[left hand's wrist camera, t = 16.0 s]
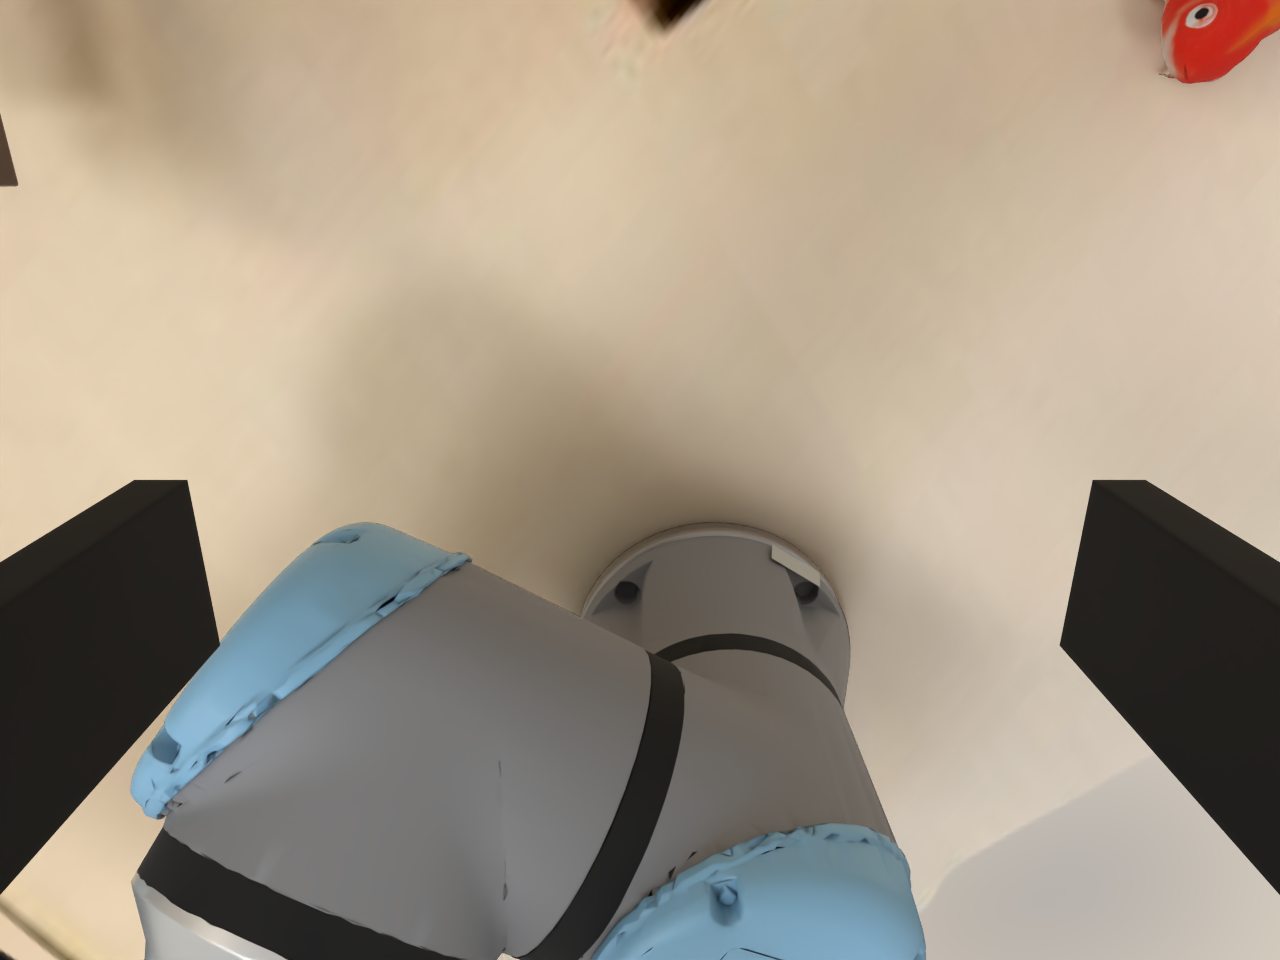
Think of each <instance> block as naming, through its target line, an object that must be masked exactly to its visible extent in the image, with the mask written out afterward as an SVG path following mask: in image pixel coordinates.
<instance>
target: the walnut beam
mask: <svg viewBox="0 0 1280 960" xmlns="http://www.w3.org/2000/svg"><path fill="white" fill-rule="evenodd" d="M17 185H18V181H17V177H16V173H15V169H14V166H13V162H12V158H11V154H10V150H9V146H8V142H7V138H6V134H5V130H4V127H3V123H2V119H1V115H0V187H4V186H17Z"/></svg>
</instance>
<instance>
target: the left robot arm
mask: <svg viewBox="0 0 1280 960" xmlns="http://www.w3.org/2000/svg"><path fill="white" fill-rule="evenodd" d="M471 562H472V558H470V557H469V556H468V555H466V554H464V553H460V552H458V553H454V554H451V553H449V552H447V551H444V550H442V549H440V548H437V547H435V546H433V545H430V544H428V543H426V542H423V541H421V540H419V539H416V538H414V537H412V536H409V535H407V534H405V533H402V532H400V531H398V530H395V529H393V528H391V527H388V526H386V525H382V524H378V523H371V522H363V523H355V524H350V525H346V526H343V527H340V528H338V529H336V530H334V531H332V532H330V533H328V534H326V535H325V536H323V537H322V538H320V539H319V540H318V541H316V542H315V543H313V544H312V545H311V546H310V547H309V548H308V549H306V550H305V551H304V552H303V553H302V554H300V555H299V556H298V557H297V558H296V559H295V560H294V561H293V562H292V563H291V564H289V565H288V566H287V567H286V568H285V569H284V570H283V571H282V572H281V573H280V574H279V575H278V576H277V577H276V578H275V579H274V580H273V582H272V583H271V584H270V585H269V586H268V587H267V588H266V589H265V590H264V591H263V592H262V594H261V595H260V596H259V597H258V598H257V599H256V600H255V601H254V602H253V604H252V605H251V606H250V607H249V608H248V609H247V610H246V611H245V613H244V614H243V615H242V616H241V617H240V619H239V620H238V621H237V622H236V623H235V624H234V626H233V627H232V628H231V629H230V630H229V632H228V633H227V634H226V635H225V637H224V638H223V639H222V640H221V642H219V637H218V632H217V627H216V622H215V617H214V612H213V607H212V602H211V597H210V592H209V587H208V582H207V577H206V572H205V567H204V562H203V557H202V552H201V547H200V542H199V537H198V531H197V526H196V521H195V516H194V511H193V506H192V501H191V496H190V491H189V486H188V481H187V480H134V481H132V482H130V483H129V484H127V485H126V486H124V487H122V488H121V489H119V490H117V491H116V492H114V493H113V494H111V495H109V496H108V497H106V498H104V499H103V500H101V501H99V502H98V503H96V504H95V505H93V506H91V507H90V508H88V509H86V510H85V511H83V512H82V513H80V514H78V515H77V516H75V517H73V518H72V519H70V520H68V521H67V522H65V523H64V524H62V525H60V526H59V527H57V528H55V529H54V530H52V531H51V532H49V533H47V534H46V535H44V536H42V537H41V538H39V539H38V540H36V541H34V542H33V543H31V544H29V545H28V546H26V547H24V548H23V549H21V550H20V551H18V552H16V553H15V554H13V555H11V556H10V557H8V558H7V559H5V560H3V561H2V562H0V894H1V893H2V892H3V891H4V890H5V889H6V888H7V887H8V885H9V884H10V883H11V882H12V881H13V880H14V879H15V877H16V876H17V875H18V874H19V873H20V872H21V871H22V870H23V868H24V867H25V866H26V865H27V864H28V863H29V862H30V860H31V859H32V858H33V857H34V856H35V855H36V854H37V853H38V851H39V850H40V849H41V848H42V847H43V846H44V845H45V843H46V842H47V841H48V840H49V839H50V838H51V837H52V836H53V834H54V833H55V832H56V831H57V830H58V829H59V828H60V826H61V825H62V824H63V823H64V822H65V821H66V820H67V819H68V817H69V816H70V815H71V814H72V813H73V812H74V811H75V809H76V808H77V807H78V806H79V805H80V804H81V803H82V802H83V800H84V799H85V798H86V797H87V796H88V795H89V794H90V792H91V791H92V790H93V789H94V788H95V787H96V786H97V785H98V783H99V782H100V781H101V780H102V779H103V778H104V777H105V775H106V774H107V773H108V772H109V771H110V770H111V769H112V768H113V766H114V765H115V764H116V763H117V762H118V761H119V760H120V758H121V757H122V756H123V755H124V754H125V753H126V752H127V751H128V749H129V748H130V747H131V746H132V745H133V744H134V743H135V741H136V740H137V739H138V738H139V737H140V736H141V735H142V734H143V732H144V731H145V730H146V729H147V728H148V727H149V726H150V724H151V723H152V722H153V721H154V720H155V719H156V718H157V717H158V715H159V714H160V713H161V712H162V711H163V710H164V709H165V707H166V706H167V705H168V704H169V703H170V702H171V701H172V700H173V698H174V697H175V696H176V695H177V694H178V693H179V692H180V691H181V689H182V688H183V687H184V686H185V685H186V684H187V683H188V681H189V680H190V679H191V678H192V677H193V676H194V677H193V678H192V679H191V681H190V682H189V683H188V685H187V686H186V687H185V689H184V690H183V692H182V693H181V695H180V696H179V698H178V699H177V701H176V702H175V703H174V705H173V706H172V708H171V709H170V711H169V713H168V714H167V717H166V719H165V722H164V723H165V724H164V725H163V727H162V728H161V729H160V731H159V732H158V734H157V735H156V737H155V738H154V740H153V741H152V742H151V744H150V745H149V746H148V748H147V749H146V750H145V752H144V753H143V755H142V756H141V758H140V760H139V762H138V764H137V766H136V769H135V771H134V774H133V777H132V780H131V789H130V791H131V795H132V797H133V798H134V800H135V801H136V802H137V803H138V804H140V805H141V806H142V807H143V811H144V813H145V815H146V816H149V817H152V818H154V819H162V818H164V817H165V816H167V817H166V820H165V823H164V826H163V828H162V830H161V831H160V833H159V835H158V836H157V838H156V840H155V841H154V843H153V845H152V846H151V848H150V850H149V852H148V853H147V855H146V857H145V858H144V860H143V862H142V863H141V865H140V867H139V868H138V870H137V872H136V874H135V875H134V877H133V879H132V881H131V883H132V889H133V893H134V896H135V900H136V904H137V908H138V912H139V916H140V920H141V924H142V928H143V932H144V935H145V939H146V944H145V959H144V960H497V959H498V957H499V956H500V955H501V953H505V954H508V955H511V956H512V957H514V958H517V959H520V960H926V952H925V950H926V945H925V939H924V934H923V929H922V925H921V922H920V919H919V915H918V912H917V909H916V905H915V902H914V899H913V895H912V892H911V882H910V868H909V865H908V862H907V860H906V858H905V855H904V854H903V852H902V850H901V849H899V848H898V845H897V843H896V840H895V838H894V835H893V833H892V830H891V828H890V825H889V823H888V820H887V818H886V815H885V813H884V810H883V808H882V805H881V803H880V800H879V798H878V795H877V793H876V790H875V788H874V785H873V783H872V780H871V778H870V775H869V773H868V770H867V768H866V765H865V763H864V760H863V758H862V755H861V753H860V750H859V748H858V745H857V743H856V740H855V738H854V735H853V733H852V730H851V728H850V725H849V723H848V720H847V718H846V715H845V712H844V710H843V709H844V702H845V696H846V689H847V682H848V675H849V668H850V637H849V632H848V626H847V623H846V619H845V616H844V613H843V611H842V609H841V606H840V604H839V602H838V600H837V598H836V595H835V593H834V591H833V589H832V587H831V585H830V584H829V582H828V580H827V579H826V577H825V576H824V575H823V573H822V572H821V571H820V569H819V568H818V567H817V566H816V565H815V564H814V563H813V562H812V561H811V560H810V559H809V558H808V557H807V556H806V555H805V554H804V553H802V552H801V551H800V550H798V549H797V548H796V547H794V546H793V545H791V544H790V543H788V542H786V541H784V540H783V539H781V538H779V537H777V536H774V535H772V534H770V533H768V532H765V531H762V530H759V529H756V528H752V527H748V526H743V525H737V524H730V523H698V524H691V525H685V526H680V527H676V528H672V529H669V530H666V531H663V532H660V533H658V534H655V535H653V536H651V537H648V538H646V539H645V540H643V541H641V542H639V543H637V544H635V545H634V546H632V547H631V548H630V549H628V550H627V551H625V552H624V553H623V554H621V555H620V556H619V557H618V558H617V559H615V560H614V561H613V562H612V563H611V564H610V565H609V566H608V567H607V568H606V569H605V571H604V572H603V573H602V574H601V576H600V577H599V578H598V579H597V581H596V582H595V584H594V586H593V587H592V589H591V590H590V592H589V594H588V596H587V598H586V600H585V603H584V606H583V608H582V611H581V615H580V617H579V616H577V615H575V614H573V613H571V612H569V611H567V610H565V609H563V608H561V607H559V606H557V605H555V604H553V603H551V602H549V601H547V600H545V599H543V598H541V597H539V596H537V595H535V594H533V593H531V592H529V591H527V590H524V589H522V588H520V587H518V586H516V585H514V584H512V583H510V582H508V581H506V580H504V579H502V578H500V577H498V576H496V575H494V574H492V573H490V572H488V571H486V570H484V569H482V568H480V567H478V566H476V565H474V564H472V563H471ZM1060 646H1061V647H1062V649H1063V650H1064V651H1065V652H1066V653H1067V654H1068V655H1069V657H1070V658H1071V659H1072V660H1073V661H1074V662H1075V663H1076V664H1077V666H1078V667H1079V668H1080V669H1081V670H1082V671H1083V672H1084V674H1085V675H1086V676H1087V677H1088V678H1089V679H1090V680H1091V681H1092V683H1093V684H1094V685H1095V686H1096V687H1097V688H1098V689H1099V691H1100V692H1101V693H1102V694H1103V695H1104V696H1105V697H1106V698H1107V700H1108V701H1109V702H1110V703H1111V704H1112V705H1113V706H1114V708H1115V709H1116V710H1117V711H1118V712H1119V713H1120V714H1121V715H1122V717H1123V718H1124V719H1125V720H1126V721H1127V722H1128V723H1129V724H1130V726H1131V727H1132V728H1133V729H1134V730H1135V731H1136V732H1137V734H1138V735H1139V736H1140V737H1141V738H1142V739H1143V740H1144V741H1145V743H1146V744H1147V745H1148V746H1149V747H1150V748H1151V749H1152V751H1153V752H1154V753H1155V754H1156V755H1157V756H1158V757H1159V758H1160V760H1161V761H1162V762H1163V763H1164V764H1165V765H1166V766H1167V768H1168V769H1169V770H1170V771H1171V772H1172V773H1173V774H1174V775H1175V777H1176V778H1177V779H1178V780H1179V781H1180V782H1181V783H1182V785H1183V786H1184V787H1185V788H1186V789H1187V790H1188V791H1189V792H1190V794H1191V795H1192V796H1193V797H1194V798H1195V799H1196V800H1197V802H1198V803H1199V804H1200V805H1201V806H1202V807H1203V808H1204V809H1205V811H1206V812H1207V813H1208V814H1209V815H1210V816H1211V817H1212V819H1213V820H1214V821H1215V822H1216V823H1217V824H1218V825H1219V826H1220V828H1221V829H1222V830H1223V831H1224V832H1225V833H1226V834H1227V836H1228V837H1229V838H1230V839H1231V840H1232V841H1233V842H1234V843H1235V845H1236V846H1237V847H1238V848H1239V849H1240V850H1241V851H1242V853H1243V854H1244V855H1245V856H1246V857H1247V858H1248V859H1249V860H1250V862H1251V863H1252V864H1253V865H1254V866H1255V867H1256V868H1257V869H1258V871H1259V872H1260V873H1261V874H1262V875H1263V876H1264V877H1265V879H1266V880H1267V881H1268V882H1269V883H1270V884H1271V885H1272V886H1273V888H1274V889H1275V890H1276V891H1277V892H1278V893H1279V894H1280V562H1278V561H1277V560H1275V559H1273V558H1272V557H1270V556H1269V555H1267V554H1265V553H1264V552H1262V551H1260V550H1259V549H1257V548H1256V547H1254V546H1252V545H1251V544H1249V543H1247V542H1246V541H1244V540H1242V539H1241V538H1239V537H1238V536H1236V535H1234V534H1233V533H1231V532H1229V531H1228V530H1226V529H1225V528H1223V527H1221V526H1220V525H1218V524H1216V523H1215V522H1213V521H1211V520H1210V519H1208V518H1207V517H1205V516H1203V515H1202V514H1200V513H1198V512H1197V511H1195V510H1194V509H1192V508H1190V507H1189V506H1187V505H1185V504H1184V503H1182V502H1181V501H1179V500H1177V499H1176V498H1174V497H1172V496H1171V495H1169V494H1167V493H1166V492H1164V491H1163V490H1161V489H1159V488H1158V487H1156V486H1154V485H1153V484H1151V483H1150V482H1148V481H1146V480H1093V481H1092V486H1091V491H1090V496H1089V501H1088V506H1087V511H1086V516H1085V521H1084V526H1083V531H1082V536H1081V542H1080V547H1079V552H1078V557H1077V562H1076V567H1075V572H1074V577H1073V582H1072V587H1071V592H1070V597H1069V602H1068V607H1067V612H1066V617H1065V622H1064V627H1063V632H1062V637H1061V642H1060ZM196 672H197V673H196Z"/></svg>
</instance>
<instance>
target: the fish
mask: <svg viewBox="0 0 1280 960" xmlns="http://www.w3.org/2000/svg"><path fill="white" fill-rule="evenodd" d="M1164 1H1165V5H1164V9H1163V14H1162V17H1161V30H1160V37H1161V49H1162V56H1163V58H1164V61H1165V64H1166V66H1167V68H1168V70H1169V72H1170V74H1169V75H1166V74H1160V75H1163V76H1166V77H1169V78H1176V79H1178V80H1179V81H1181V82H1182V83H1190V84H1191V83H1197V82H1211V81H1215V80H1217V79H1219V78H1221V77H1223V76H1224V75H1226V74H1227V73H1228V72H1229V71H1230V70H1231V69H1232V68H1233V67H1234V66H1236V65H1237V64H1238V63H1240V62H1241V61H1243V60H1244V59H1245V58H1246V57H1247V56H1248V55H1249V54H1250V53H1251V52H1252V51H1253V50H1254V49H1255V47H1256V46H1257V45H1258V44H1259V42H1260V41H1261V40H1262V39H1264V38H1265V37H1267V36H1269V35H1271V34H1272V33H1274V32H1276V31H1277V30H1279V29H1280V0H1164Z"/></svg>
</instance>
